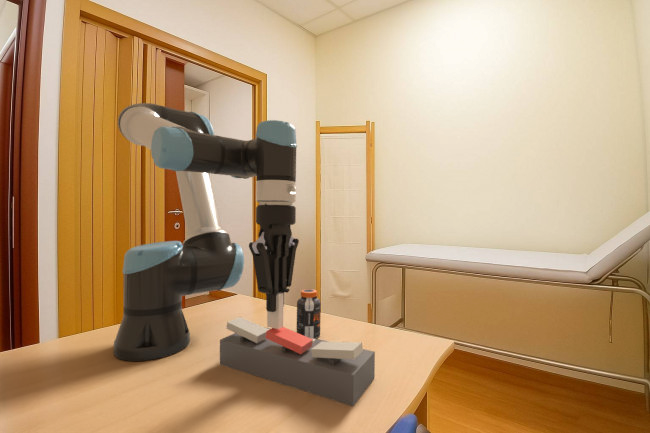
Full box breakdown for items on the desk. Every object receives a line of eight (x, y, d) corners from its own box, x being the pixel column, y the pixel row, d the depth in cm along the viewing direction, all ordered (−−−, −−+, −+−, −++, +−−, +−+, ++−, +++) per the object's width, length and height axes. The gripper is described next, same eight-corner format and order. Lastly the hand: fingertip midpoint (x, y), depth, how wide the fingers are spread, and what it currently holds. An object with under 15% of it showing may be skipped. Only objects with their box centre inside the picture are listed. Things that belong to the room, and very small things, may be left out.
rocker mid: (265, 338, 61) (266, 330, 61) (277, 331, 65) (278, 324, 64) (300, 354, 58) (302, 346, 57) (311, 346, 61) (312, 339, 61)
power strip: (219, 364, 65) (219, 335, 65) (253, 346, 74) (253, 320, 74) (353, 406, 51) (353, 369, 51) (374, 378, 60) (374, 346, 60)
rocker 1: (226, 328, 66) (227, 322, 66) (239, 323, 69) (240, 316, 69) (256, 343, 62) (257, 336, 62) (269, 336, 66) (270, 329, 65)
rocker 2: (312, 357, 56) (311, 349, 57) (322, 349, 60) (321, 341, 60) (354, 359, 53) (353, 350, 53) (362, 350, 56) (361, 342, 56)
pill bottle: (317, 341, 77) (317, 293, 77) (293, 339, 79) (293, 292, 78) (322, 332, 83) (323, 288, 83) (300, 330, 84) (300, 287, 84)
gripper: (270, 203, 55) (269, 342, 55) (310, 205, 66) (309, 320, 66) (237, 203, 58) (236, 334, 58) (280, 205, 70) (279, 314, 70)
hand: (275, 326), depth 62 cm, fingers closed
